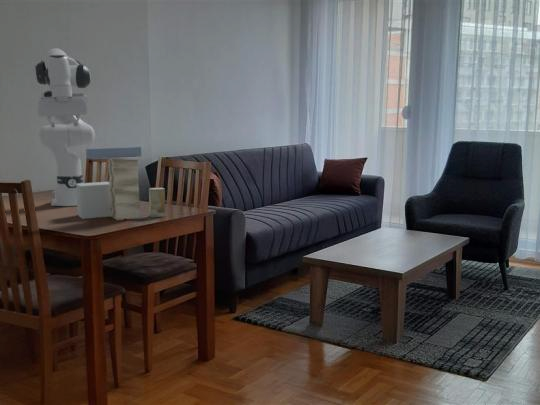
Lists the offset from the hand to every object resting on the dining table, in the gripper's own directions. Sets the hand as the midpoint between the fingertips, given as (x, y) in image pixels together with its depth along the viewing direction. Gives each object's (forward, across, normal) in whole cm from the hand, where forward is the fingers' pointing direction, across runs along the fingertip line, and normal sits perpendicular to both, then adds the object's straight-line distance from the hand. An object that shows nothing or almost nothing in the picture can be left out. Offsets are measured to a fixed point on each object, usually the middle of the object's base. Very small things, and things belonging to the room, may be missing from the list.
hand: (64, 126), depth 262 cm
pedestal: (+40, -20, +9) cm, 46 cm away
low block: (+39, -10, -2) cm, 40 cm away
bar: (+14, -17, +12) cm, 25 cm away
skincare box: (+41, -33, +14) cm, 54 cm away
